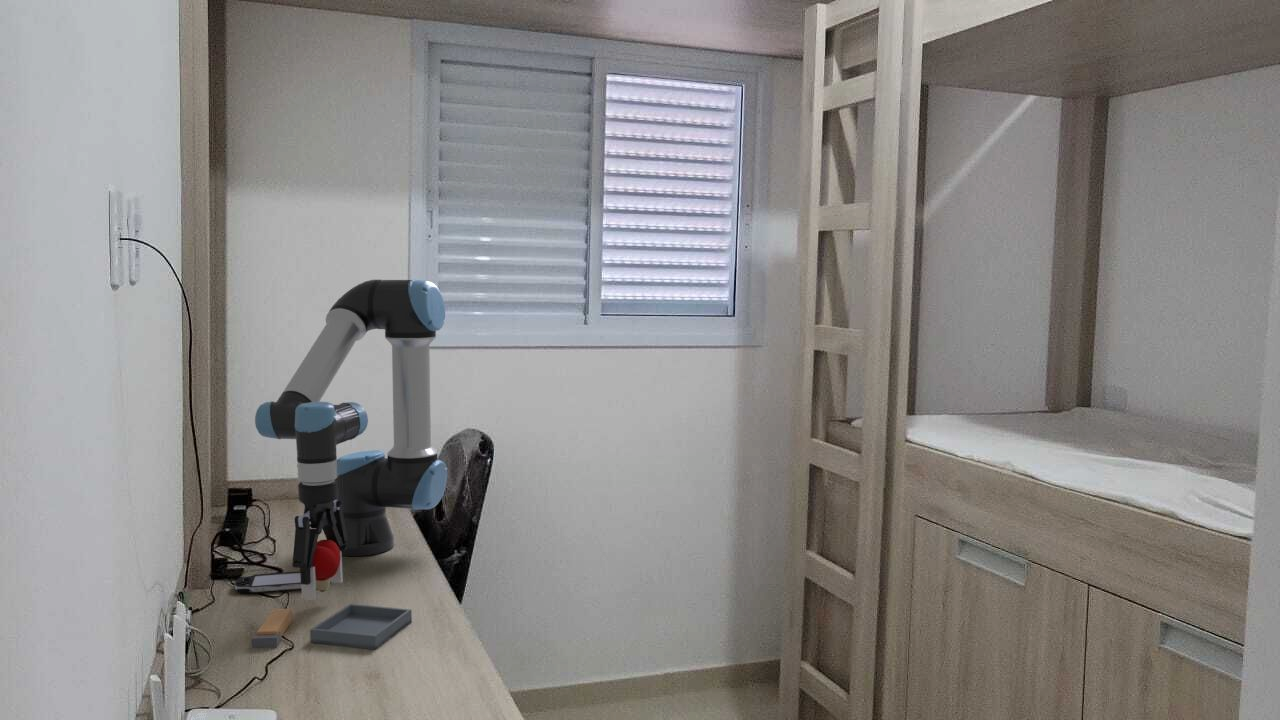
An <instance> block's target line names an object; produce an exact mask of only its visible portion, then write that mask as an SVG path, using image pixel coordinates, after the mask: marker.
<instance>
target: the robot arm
mask: <svg viewBox="0 0 1280 720" xmlns="http://www.w3.org/2000/svg"><path fill="white" fill-rule="evenodd" d="M445 319H446V306H445V301H444V297H443V295H442V293H441V291H440V289H439V287H438V286H437V285H436V284H435V283H433V282H432V281H430V280H420V279H415V278H414V279H370V280H366V281H363V282H361V283H358V284H357V285H355V286H354V287H351V288H350V289H349V290H348V291H347V292H346V291H345V293H344V294H343V295H342V296H340V297H339V298H338V299H337V301H336V302H335V303H334V304H333V305H332V306H331V308H330V309H329V311H328V312H327V314H326V316H325V323H326V324H325V326H324V327H323V328H322V330H321V332H320V333H319V335H318V336H317V338H316V340H315V341H314V343H313V344H312V346H311V347H310V349H309V351H308V352H307V354H306V356H305V357H304V359H303V360H302V362H301V363H300V365H299V367H298V368H297V369H296V371H295V372H294V374H293V375H292V377H291V379H290V380H289V382H288V384H287V385H286V386H285V389H284V390H283V392H282V393H281V394H280V396H279V397H278V399H277V401H273V400H272V401H267V402H264V403H262V404H260V405H259V406H258V408H257V410H256V412H255V417H254V424H255V428H256V430H257V432H258V434H260V436H262V437H265V438H269V439H277V440H295V441H296V443H295V444H296V463H297V465H296V467H297V480H298V481H299V483H298V484H297V485H298V486H297V489H298V490H297V491H298V501H299V503H302V504H303V506H304V510H303V514H302V515H301V516H300V515H296V516H295V517H294V526H295V527H294V528H295V529H294V530H295V532H294V542H293V554H292V565H291V566H292V567H293V568H297V569H299V571H300V575H301V588H302V590H301V599H302V600H310V601H315V600H317V589H316V579H315V567H313V566H312V564H313V559H314V554H315V550H316V545H317V542H318V541H319V540H318V539H319V536H320V534H321V533H322V532H323V534H324V536H325V539H326V540H332V541H333V542H335V543H336V544H337V546H338V548H339V550H340V554H341V560H340V565H339V568H338V570H337V572H336V574H335V575H334V576H333V577H331V578H330V579H329V582H330V583H336V584H337V583H338V584H341V583H344V581H343V556H347V557H363V556H373V555H377V554H381V553H384V552H387V551H390V550H391V549H393V547H394V546H395V537H394V533H393V530H392V527H391V525H390V522H389V520H388V517H387V513H386V512H387V511H386V510H387V509H386V508H393V509H411V510H414V511H418V510H431V509H433V508H435V507H436V506H437V505H438V504H439V503H440V502H441V500H442V498H443V496H444V493H445V490H446V487H447V482H448V468H447V465H446V463H445V462H444V461H442V460H441V459H439V457H438V450H437V449H436V448H434V447H433V446H432V440H431V439H432V438H431V437H432V436H431V434H432V433H431V432H432V431H431V427H432V425H431V376H430V375H431V369H430V367H431V364H430V363H431V362H430V361H431V360H430V354H431V353H430V345H431V343H432V342H433V341H434V340H435V339H436V336H437V331H440V330H441V329H442V328H443V326H444V324H445ZM371 330H384V338H385V340H386V341H388V342H389V344H390V345H391V358H392V359H391V361H392V362H391V363H392V366H391V368H392V415H393V418H392V421H393V423H392V424H393V446H392V448H391V449H390V450H389V451H388V452H387V453H386V454H387V458H386V454H385V451H384V450H381V449H380V450H378V449H377V450H375V449H374V450H366V451H359V452H358V451H357V452H354V453H353V452H352V453H349V454H346V455H343V456H339V457H338V458H337V446H338V445H339V444H342V443H345V442H347V441H349V440H350V441H352V440H354V439H356V438H357V437H358V436H360V435H362V434H363V433H364V432H365V431H366V430H367V427H368V425H369V424H368V423H369V416H368V413H367V411H366V409H365V408H364V407H363V406H362V405H360V404H359V403H358V402H354V401H348V402H342V403H339V404H333V403H332V402H328V401H321V399H322V398H323V397H324V395H325V393H326V392H327V390H328V389H329V386H330V384H331V383H332V381H333V379H335V376H336V375H337V373H338V371H339V370H340V369H341V366H342V365H343V363H344V362H345V359H346V358H347V356H348V355H349V353H350V351H351V350H352V348H353V346H354V345H355V343H356V342H357V341H358V342H359V341H361V340H362V339H363V338H364V337H365V336H366V334H367V332H369V331H371Z"/></svg>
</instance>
